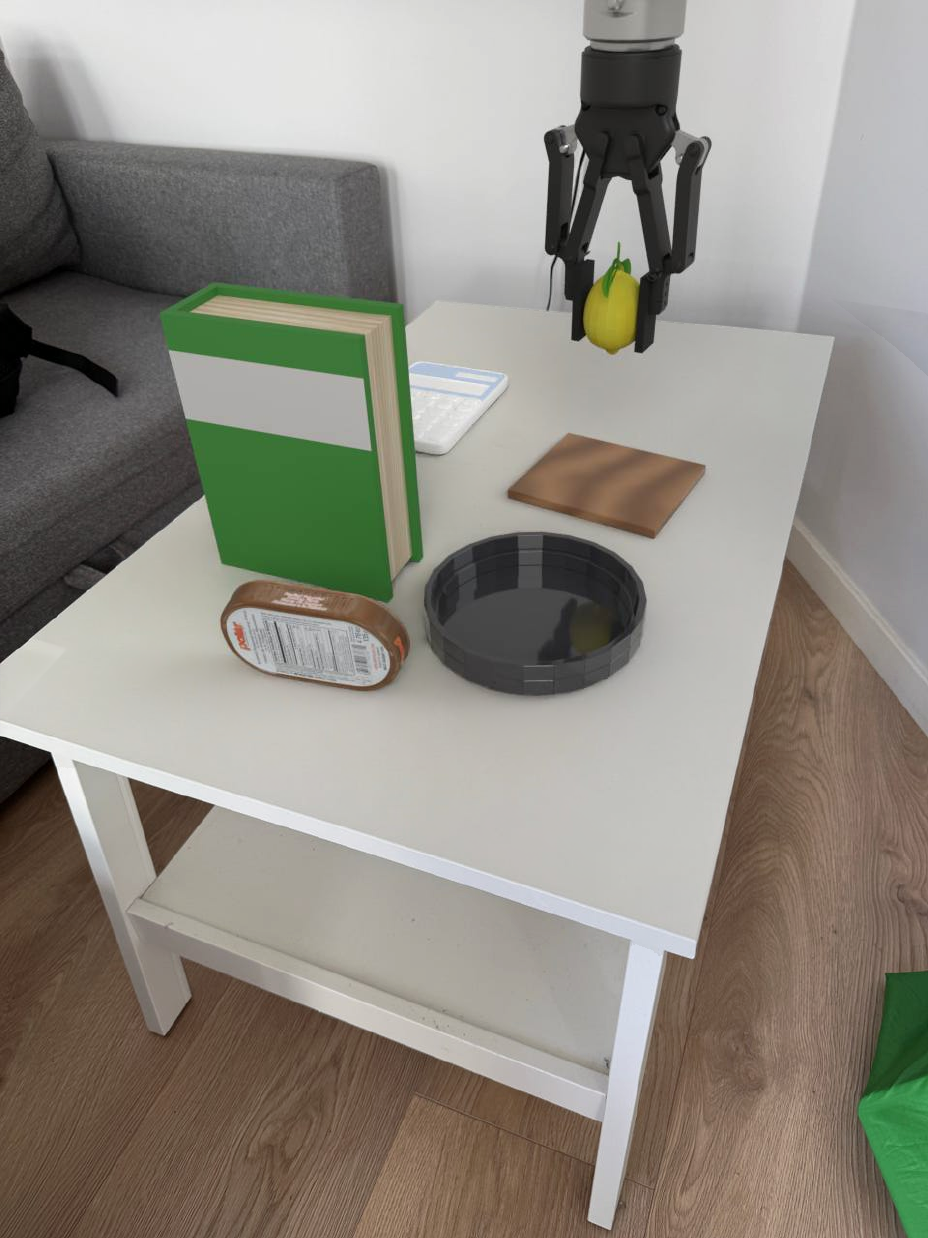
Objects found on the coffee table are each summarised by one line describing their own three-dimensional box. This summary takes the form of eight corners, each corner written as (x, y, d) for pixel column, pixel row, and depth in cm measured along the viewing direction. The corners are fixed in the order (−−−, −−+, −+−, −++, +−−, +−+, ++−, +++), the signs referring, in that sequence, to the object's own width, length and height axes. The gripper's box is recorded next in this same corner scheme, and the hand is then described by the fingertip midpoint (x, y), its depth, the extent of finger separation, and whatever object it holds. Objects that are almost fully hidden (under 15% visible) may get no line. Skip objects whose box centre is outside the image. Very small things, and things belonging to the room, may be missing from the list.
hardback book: (423, 557, 86) (403, 303, 71) (388, 602, 81) (358, 339, 66) (263, 523, 92) (214, 282, 77) (221, 563, 87) (159, 313, 71)
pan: (674, 599, 80) (679, 566, 78) (584, 730, 68) (587, 696, 66) (493, 543, 87) (493, 512, 85) (384, 652, 76) (380, 619, 73)
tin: (414, 678, 73) (406, 594, 68) (402, 705, 71) (393, 620, 65) (244, 650, 76) (223, 568, 71) (226, 675, 74) (204, 592, 69)
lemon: (602, 375, 81) (610, 259, 75) (563, 353, 85) (567, 241, 78) (661, 357, 83) (673, 243, 77) (620, 336, 87) (628, 227, 81)
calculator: (339, 438, 105) (337, 423, 104) (416, 370, 119) (415, 356, 118) (444, 458, 101) (443, 443, 100) (511, 385, 115) (511, 371, 114)
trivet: (705, 473, 96) (706, 465, 96) (654, 539, 87) (655, 530, 86) (568, 440, 103) (568, 432, 102) (507, 497, 94) (507, 489, 93)
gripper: (500, 45, 70) (503, 338, 85) (736, 54, 62) (695, 375, 77) (545, 32, 75) (540, 311, 90) (769, 39, 67) (724, 344, 82)
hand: (612, 340), depth 83 cm, fingers closed on lemon, 5 cm apart
